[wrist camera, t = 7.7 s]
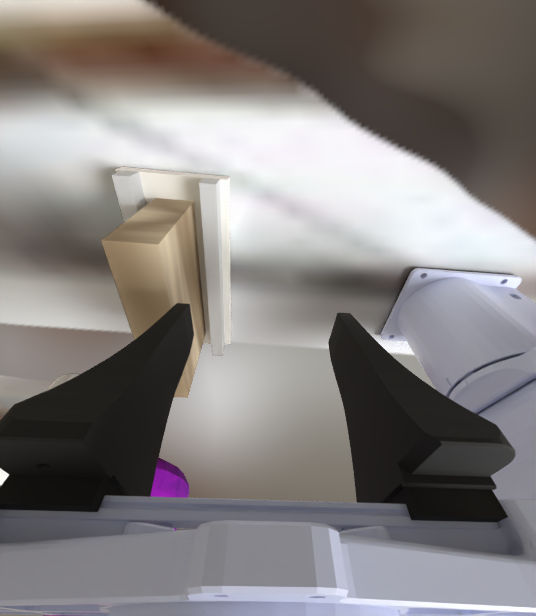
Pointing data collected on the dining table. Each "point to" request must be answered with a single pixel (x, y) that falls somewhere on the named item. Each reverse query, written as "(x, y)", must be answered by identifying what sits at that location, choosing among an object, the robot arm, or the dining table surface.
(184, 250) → the tan rectangular block
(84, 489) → the robot arm
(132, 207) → the track board
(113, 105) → the dining table surface
